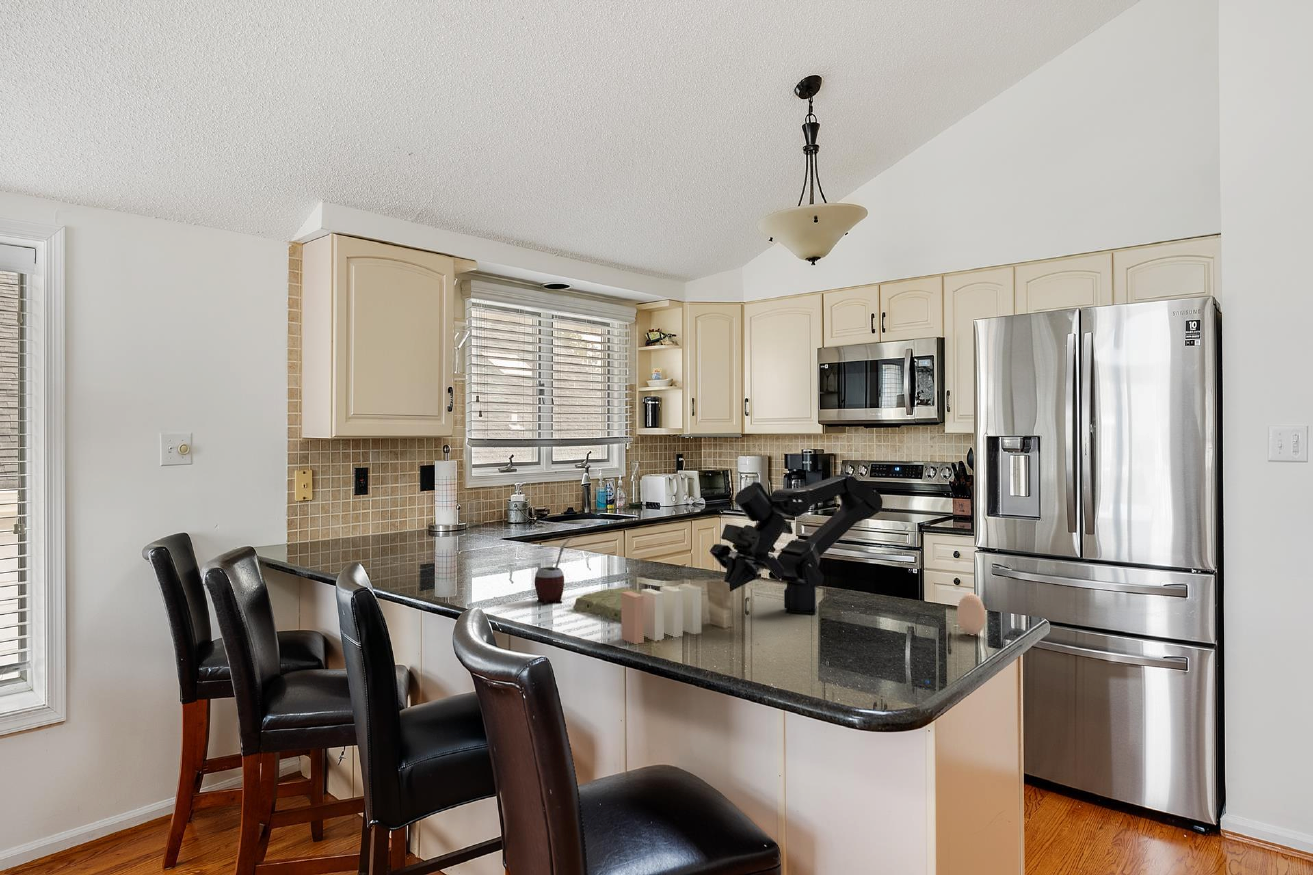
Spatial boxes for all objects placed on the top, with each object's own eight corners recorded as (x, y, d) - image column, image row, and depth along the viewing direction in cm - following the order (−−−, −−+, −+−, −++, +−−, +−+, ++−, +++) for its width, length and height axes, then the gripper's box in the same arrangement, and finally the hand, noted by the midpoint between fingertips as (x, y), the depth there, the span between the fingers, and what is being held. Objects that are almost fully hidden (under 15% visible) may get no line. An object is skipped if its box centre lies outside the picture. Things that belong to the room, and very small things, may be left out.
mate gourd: (529, 604, 169) (529, 540, 169) (543, 597, 177) (543, 536, 177) (559, 606, 167) (559, 541, 167) (571, 599, 175) (571, 537, 175)
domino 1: (630, 637, 141) (630, 591, 141) (643, 643, 137) (643, 595, 137) (621, 638, 140) (621, 592, 140) (634, 644, 136) (634, 596, 136)
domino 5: (717, 621, 153) (714, 579, 152) (732, 626, 148) (729, 583, 148) (709, 623, 152) (706, 581, 151) (724, 628, 147) (721, 584, 147)
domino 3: (668, 630, 146) (668, 586, 146) (682, 636, 142) (682, 590, 142) (660, 632, 145) (660, 587, 145) (674, 637, 140) (674, 591, 141)
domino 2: (649, 633, 143) (649, 588, 143) (663, 639, 139) (663, 592, 139) (641, 635, 142) (641, 589, 142) (655, 641, 138) (655, 594, 138)
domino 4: (686, 627, 148) (686, 583, 148) (701, 632, 144) (701, 587, 144) (678, 628, 147) (678, 584, 147) (693, 634, 143) (693, 588, 143)
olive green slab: (620, 598, 178) (620, 584, 178) (687, 610, 165) (687, 594, 165) (566, 613, 163) (566, 597, 163) (635, 627, 151) (635, 610, 151)
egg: (983, 640, 138) (983, 597, 138) (954, 636, 141) (954, 594, 141) (987, 633, 143) (987, 592, 143) (959, 630, 146) (959, 589, 146)
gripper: (716, 507, 161) (675, 560, 155) (773, 514, 146) (730, 574, 139) (743, 540, 165) (704, 593, 159) (801, 550, 150) (761, 610, 144)
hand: (723, 592), depth 150 cm, fingers closed
